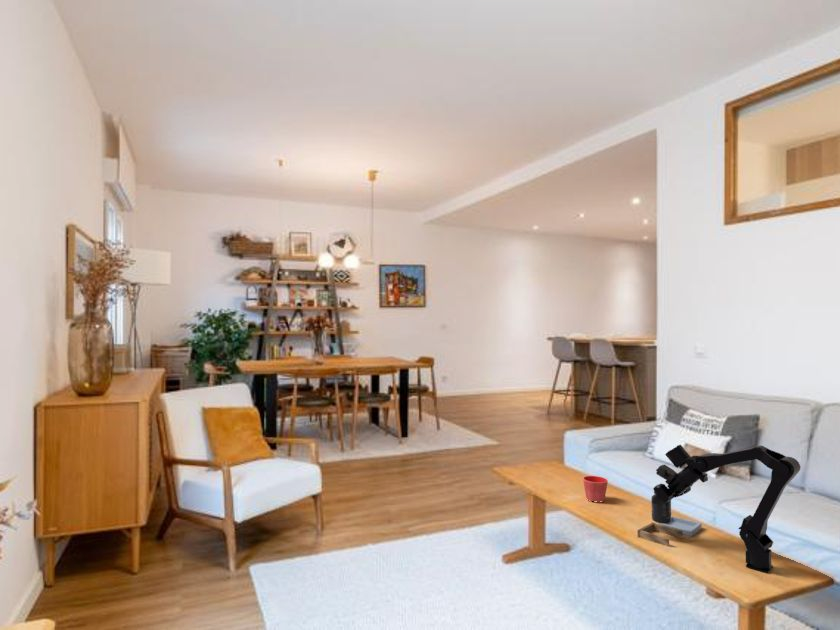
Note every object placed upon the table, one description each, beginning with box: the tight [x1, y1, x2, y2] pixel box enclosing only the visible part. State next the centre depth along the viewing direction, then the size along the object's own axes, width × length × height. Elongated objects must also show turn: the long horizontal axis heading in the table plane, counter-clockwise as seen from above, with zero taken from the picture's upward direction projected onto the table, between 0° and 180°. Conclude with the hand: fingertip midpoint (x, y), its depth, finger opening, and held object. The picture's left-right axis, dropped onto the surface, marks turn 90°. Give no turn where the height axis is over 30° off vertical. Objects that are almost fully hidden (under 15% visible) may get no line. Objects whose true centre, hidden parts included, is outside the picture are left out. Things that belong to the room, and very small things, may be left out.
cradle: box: [637, 521, 683, 547], centre depth 203 cm, size 12×12×2 cm
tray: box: [657, 515, 703, 538], centre depth 211 cm, size 12×12×2 cm
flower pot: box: [582, 475, 609, 503], centre depth 246 cm, size 11×11×10 cm
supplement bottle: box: [650, 490, 672, 524], centre depth 204 cm, size 7×7×12 cm
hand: (657, 500), depth 205 cm, fingers closed on supplement bottle, 7 cm apart
